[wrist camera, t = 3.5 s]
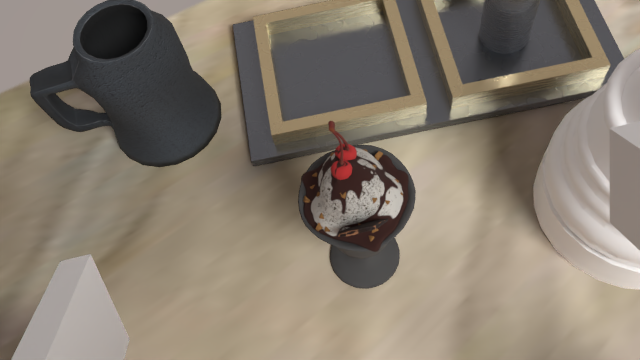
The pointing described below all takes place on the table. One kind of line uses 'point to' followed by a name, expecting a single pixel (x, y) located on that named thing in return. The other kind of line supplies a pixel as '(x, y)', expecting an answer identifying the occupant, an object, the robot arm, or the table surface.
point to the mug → (133, 85)
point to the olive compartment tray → (411, 67)
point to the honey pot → (590, 181)
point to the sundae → (358, 209)
